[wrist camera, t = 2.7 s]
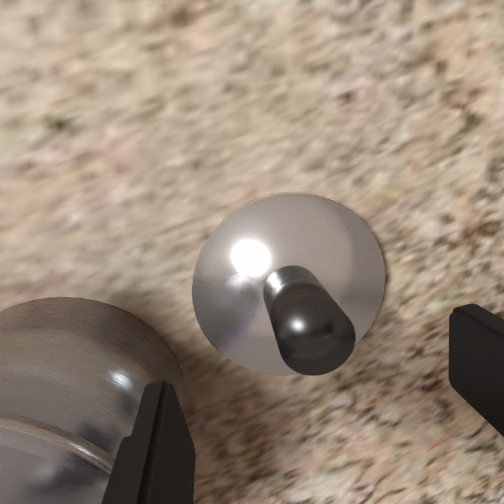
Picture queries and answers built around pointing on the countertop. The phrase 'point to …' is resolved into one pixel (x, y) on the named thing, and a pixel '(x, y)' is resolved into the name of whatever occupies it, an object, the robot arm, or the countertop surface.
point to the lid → (288, 284)
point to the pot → (71, 395)
